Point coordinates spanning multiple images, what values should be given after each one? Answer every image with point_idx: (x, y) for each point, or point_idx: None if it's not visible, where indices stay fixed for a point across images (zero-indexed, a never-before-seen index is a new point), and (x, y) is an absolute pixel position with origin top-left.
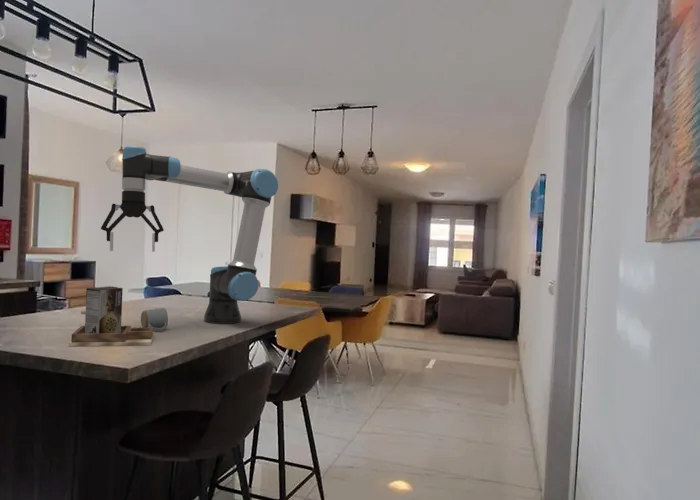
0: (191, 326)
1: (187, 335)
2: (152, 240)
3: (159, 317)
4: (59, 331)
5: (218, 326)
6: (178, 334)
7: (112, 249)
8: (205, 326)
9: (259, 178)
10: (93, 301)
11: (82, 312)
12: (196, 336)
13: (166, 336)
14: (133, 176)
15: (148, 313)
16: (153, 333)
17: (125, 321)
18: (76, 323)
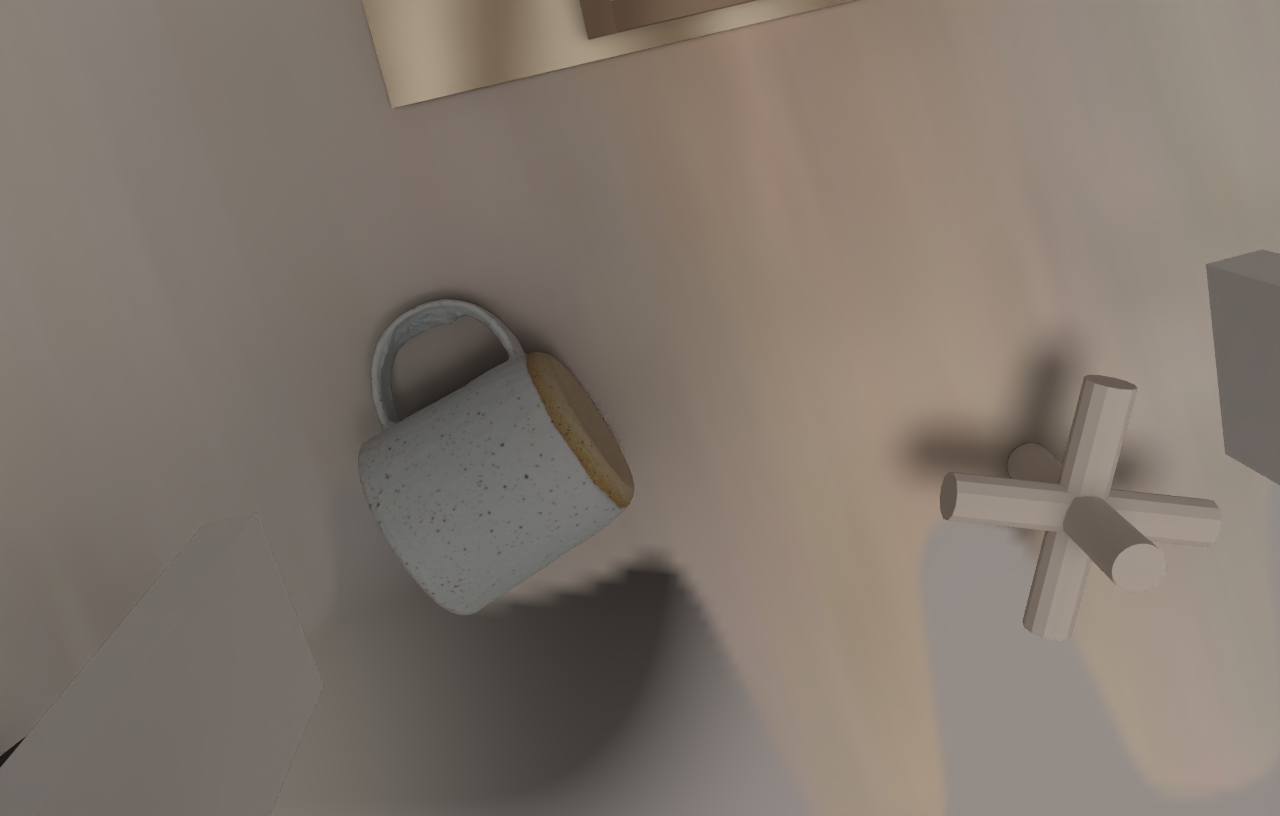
0: None
1: (107, 167)
2: (140, 660)
3: (427, 421)
4: (1239, 161)
5: (4, 671)
6: (203, 204)
7: (1232, 319)
8: None
9: None
10: None
11: (1196, 498)
12: (9, 130)
13: (272, 81)
14: None
15: (527, 407)
16: (379, 58)
17: (855, 745)
18: (1213, 569)
